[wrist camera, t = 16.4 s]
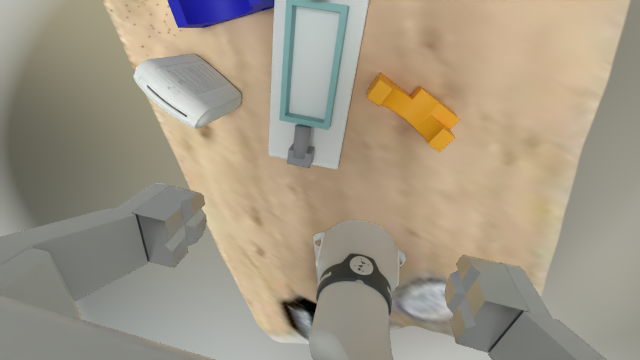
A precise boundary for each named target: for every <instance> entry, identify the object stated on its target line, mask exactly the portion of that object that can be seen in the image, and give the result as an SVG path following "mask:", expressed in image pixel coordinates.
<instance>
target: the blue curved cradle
mask: <svg viewBox="0 0 640 360" xmlns="http://www.w3.org/2000/svg"><path fill="white" fill-rule="evenodd" d="M274 1H275V0H168V3H169V6H170V8H171V11H172V13H173V16H174V18H175V21H176V24H177V26H178V28H205V27H208V26H211V25H215V24H218V23H222V22H225V21H229V20H232V19H236V18H239V17H243V16H246V15H250V14H253V13H256V12H260V11H263V10H267V9H270V8H274Z"/></svg>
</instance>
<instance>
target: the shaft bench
mask: <svg viewBox="0 0 640 360" xmlns="http://www.w3.org/2000/svg"><path fill="white" fill-rule="evenodd" d="M368 5H369V0H275V1H274V26H273V52H272V78H271V104H270V129H269V155H270V156H275V157H279V158H284V159H287V164H292V165H296V166H301V167H306V168H310V166H311V164H312V165H317V166H322V167H327V168H331V169H336V170H337V169H338V166H339V161H340V155H341V150H342V144H343V139H344V134H345V128H346V123H347V118H348V112H349V107H350V102H351V96H352V91H353V85H354V80H355V75H356V69H357V64H358V59H359V53H360V48H361V43H362V37H363V32H364V27H365V21H366V16H367V10H368Z"/></svg>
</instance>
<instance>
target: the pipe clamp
mask: <svg viewBox="0 0 640 360" xmlns="http://www.w3.org/2000/svg"><path fill="white" fill-rule="evenodd" d="M367 98H368V99H370V100H371V101H372V102H374V103H375V104H376V105H378V106H380V105H383V106H386V107H388V108H390V109H391V110H393V111H394V112H396V113H397V114H399V115H400V116H402V117H403V118H404V119H405V120H407V121H408V122H409V123H410V124H411V125H412V126H413V127H415V128H416V129H417V130H418V131H419V132H420V133H421V135H422V136H423V137H424V138H425V139H426V141H427V142H428V144H429V145H430V146H432V147H433V148H434V149H436V150H437V151H438V152H440V151H442V150H443V149H444V148H445V147H446V146H447V145H448V144H449V143H450V142H451V141H452V140H453V139H454V138H455V137H454V135H453V134H452V132H451V131H450V129H451V128H452V127H453V126H454V125H455V124H456V123H457V122H458V121H459V120H460V119H459V118H458V117H457V115H456V114H455V113H454V112H452V111H451V110H450V109H449V108H447V107H446V106H445V105H443V104H442V103H441V102H440V101H438V100H437V99H436V98H435V97H433V96H432V95H431V94H430V93H428V92H427V91H426V90H424V89H423V88H422V87H421V86H419V87H418V88H417V90H416V91H415V92H414V93H413V94H412V95H411V96H410V95H409V94H407V93H406V92H405V91H404V90H402V89H401V88H400V87H398V86H397V85H396V84H395V83H393V82H392V81H391V80H389V79H388V78H387V77H385V76H384V75H383V74H382V73H380V74H379V75H378V76H377V78H376V79H375V80H374V82H373V83H372V84H371V86H370V87H369V89H368V93H367Z"/></svg>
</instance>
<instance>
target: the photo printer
mask: <svg viewBox="0 0 640 360" xmlns="http://www.w3.org/2000/svg"><path fill="white" fill-rule="evenodd" d="M134 79H135V81H136V83H137V84H138V85H139V87H140V88H141V89H142V90H143V91H144V93H145V94H146V95H147V96H148V97H149V98H150V99H152V100H153V101H154V102H155V103H156V104H157V105H158V106H160V107H161V108H162V109H163V110H165V111H166V112H167V113H169V114H170V115H171V116H173V117H174V118H176V119H177V120H179V121H181V122H182V123H184V124H186V125H188V126H190V127H193V128H195V129H198V128H200V127H202V126H204V125H206V124H208V123H210V122H212V121H214V120H216V119H218V118H220V117H222V116H224V115H226V114H227V113H229V112H231V111H232V110H234V109H236V108H238V107H239V106H240V104H241V100H242V98H241V96H242V95H241V93H240V92H239V91H238V90H237V89H236V88H235V87H234V86H233V85H232V84H231V83H230V82H229V81H227V80H226V79H225V78H224V77H223V76H222V75H221V74H220V73H218V72H217V71H216V70H215V69H214V68H213V67H211V66H210V65H209V64H208V63H207V62H205V61H204V60H203V59H202V58H200V57H199V56H197V55H195V54H190V55H182V56H174V57H165V58H156V59H149V60H146V61H144V62H142V63H141V64H140V65H139V66H138V67H137V68H136V72H135V74H134Z"/></svg>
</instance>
